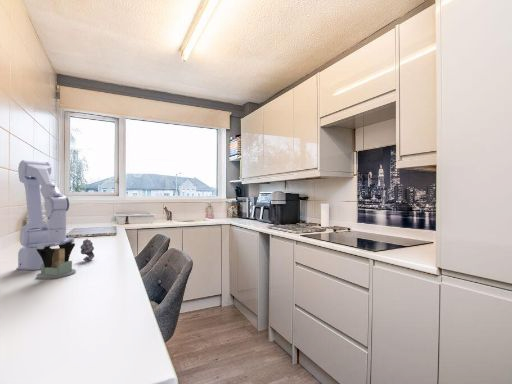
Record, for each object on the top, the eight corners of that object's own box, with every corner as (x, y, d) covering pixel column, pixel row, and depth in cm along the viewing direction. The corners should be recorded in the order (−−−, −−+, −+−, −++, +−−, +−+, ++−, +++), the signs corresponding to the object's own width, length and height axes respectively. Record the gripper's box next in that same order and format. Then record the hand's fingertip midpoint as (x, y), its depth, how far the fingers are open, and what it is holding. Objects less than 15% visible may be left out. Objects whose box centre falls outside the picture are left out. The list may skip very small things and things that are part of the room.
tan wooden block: (49, 273, 105) (49, 249, 105) (55, 271, 107) (55, 248, 107) (59, 273, 104) (59, 249, 104) (64, 272, 107) (64, 248, 107)
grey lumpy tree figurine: (89, 262, 126) (89, 239, 126) (78, 262, 126) (78, 239, 126) (96, 259, 131) (96, 237, 131) (85, 259, 131) (85, 237, 131)
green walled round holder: (27, 278, 101) (27, 265, 101) (56, 269, 113) (56, 258, 113) (57, 279, 99) (57, 266, 99) (83, 270, 111) (83, 259, 111)
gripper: (49, 231, 98) (49, 270, 98) (81, 226, 113) (80, 260, 113) (31, 230, 99) (31, 269, 99) (65, 226, 114) (65, 260, 114)
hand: (56, 264), depth 106 cm, fingers open, 7 cm apart
